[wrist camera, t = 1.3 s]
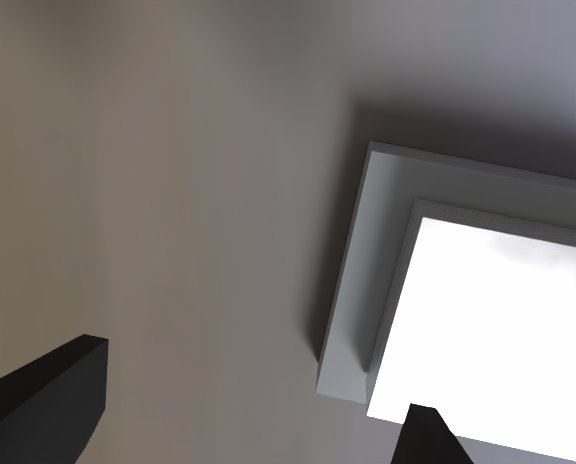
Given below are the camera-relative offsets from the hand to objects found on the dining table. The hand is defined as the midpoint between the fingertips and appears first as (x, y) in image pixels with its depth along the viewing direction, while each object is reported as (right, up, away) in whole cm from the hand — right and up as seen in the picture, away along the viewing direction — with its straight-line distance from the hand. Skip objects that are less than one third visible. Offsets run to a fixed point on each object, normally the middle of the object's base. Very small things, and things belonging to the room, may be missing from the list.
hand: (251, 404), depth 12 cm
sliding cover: (+8, +1, +6) cm, 10 cm away
